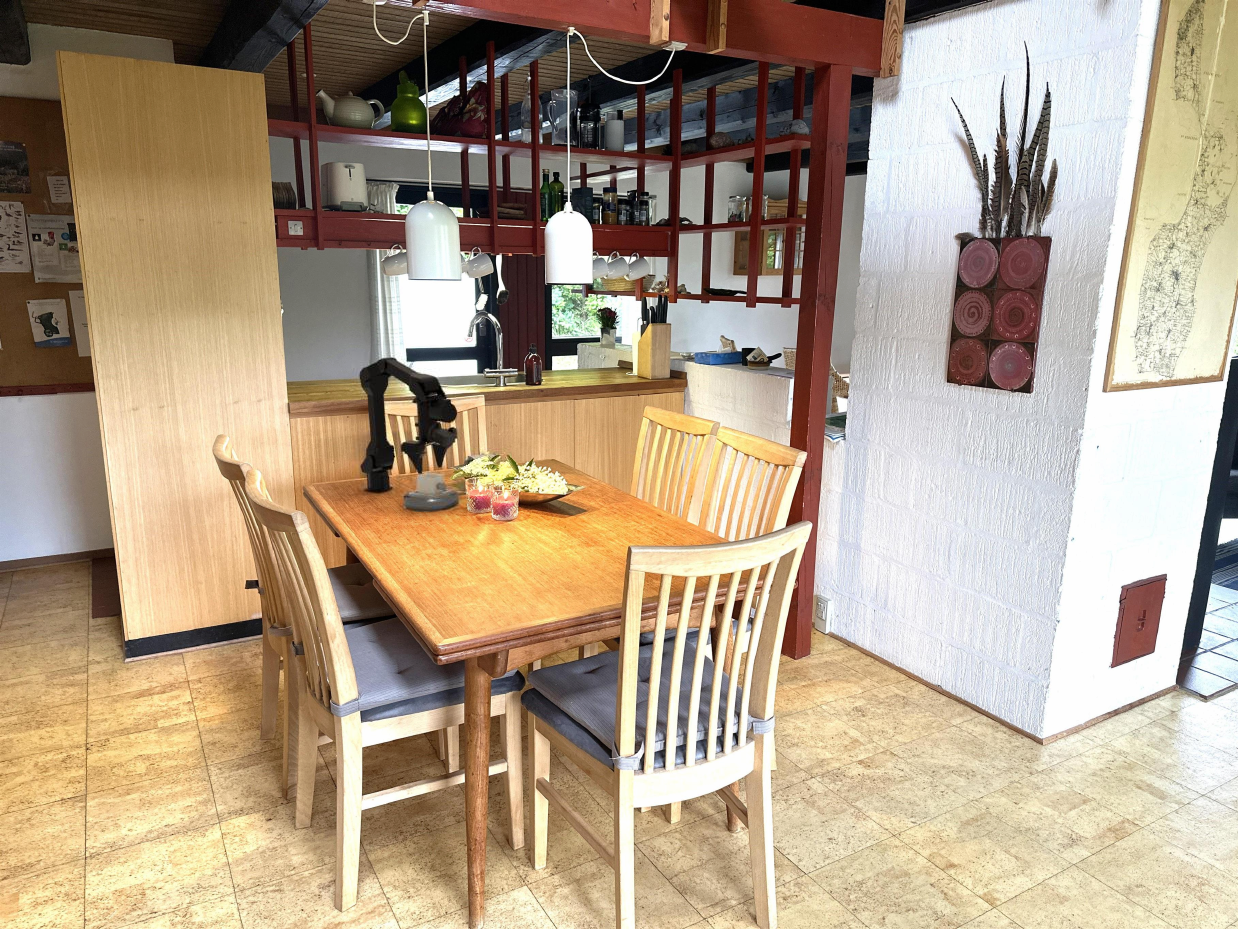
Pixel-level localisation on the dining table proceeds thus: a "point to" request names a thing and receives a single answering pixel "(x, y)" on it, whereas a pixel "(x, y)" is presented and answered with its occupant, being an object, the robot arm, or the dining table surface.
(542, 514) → the dining table surface
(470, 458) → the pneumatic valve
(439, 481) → the pump block
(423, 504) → the grey shallow dish
